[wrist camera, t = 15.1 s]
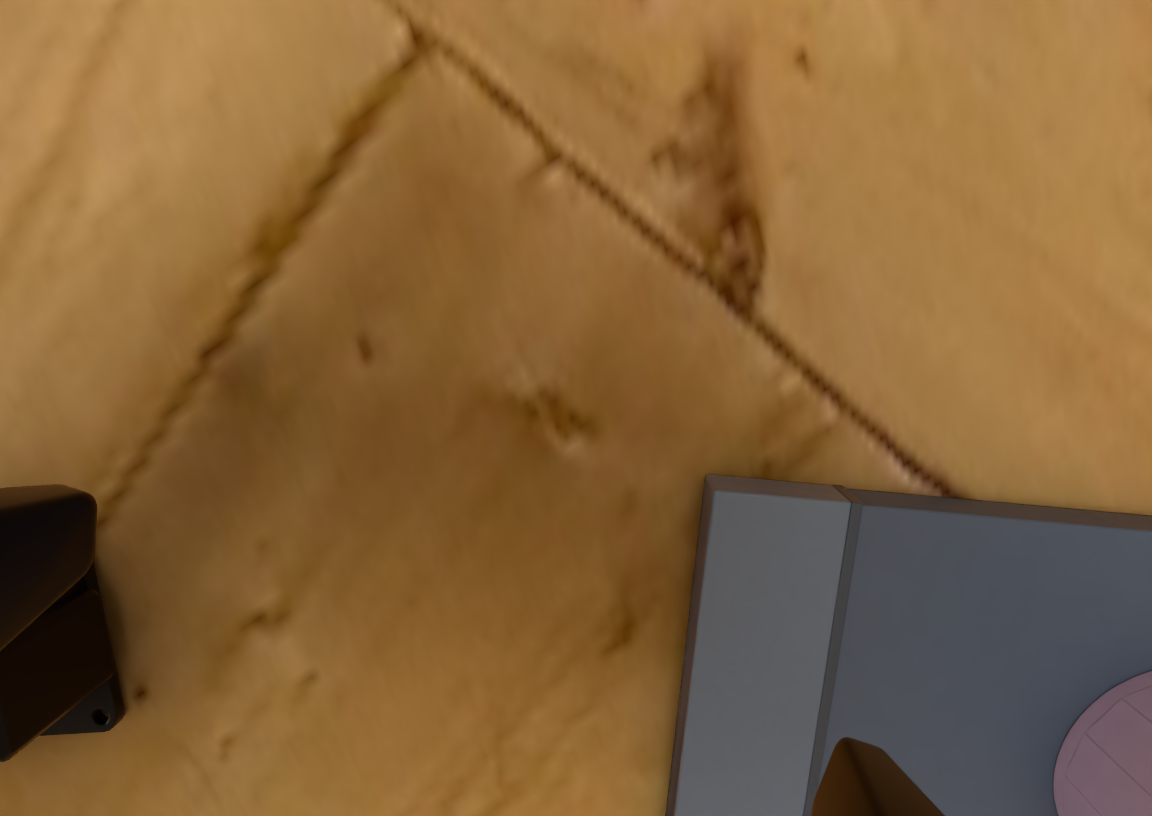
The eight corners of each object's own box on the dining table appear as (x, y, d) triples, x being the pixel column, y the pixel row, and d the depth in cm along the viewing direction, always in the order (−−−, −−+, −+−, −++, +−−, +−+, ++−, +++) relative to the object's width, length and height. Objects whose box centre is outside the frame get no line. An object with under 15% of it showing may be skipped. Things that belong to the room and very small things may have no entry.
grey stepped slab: (654, 904, 23) (658, 952, 21) (705, 472, 20) (714, 489, 19) (1302, 973, 22) (1357, 1028, 21) (1434, 538, 20) (1509, 561, 18)
